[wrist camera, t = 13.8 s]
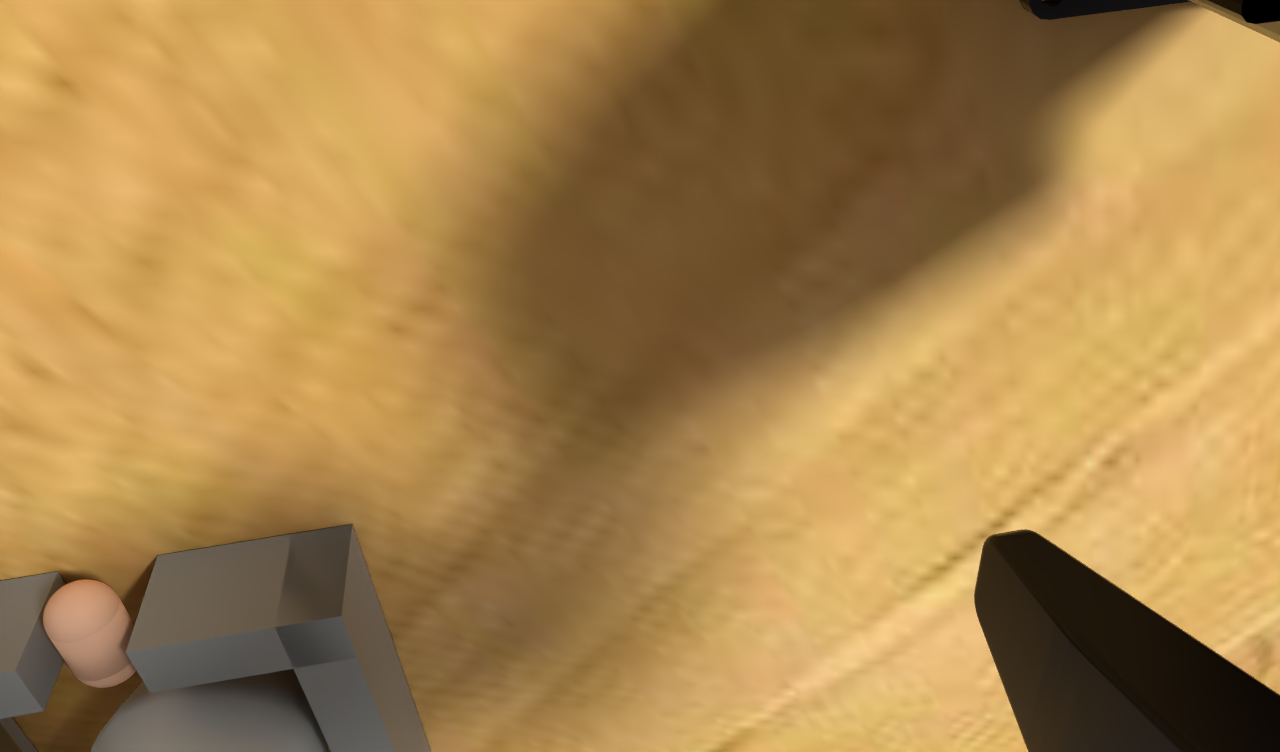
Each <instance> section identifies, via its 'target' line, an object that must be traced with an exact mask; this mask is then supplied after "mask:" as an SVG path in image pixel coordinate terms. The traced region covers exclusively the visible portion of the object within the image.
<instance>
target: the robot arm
mask: <svg viewBox="0 0 1280 752" xmlns="http://www.w3.org/2000/svg"><path fill="white" fill-rule="evenodd" d="M1020 2H1021V4H1022V6H1023V7H1024V9H1026V10H1027V11H1029V12H1030V13H1032V14H1033V15H1035V16H1037V17H1038V18H1040V19H1048V20H1051V19H1059V18H1066V17H1074V16H1082V15H1090V14H1097V13H1105V12H1113V11H1121V10H1128V9H1136V8H1144V7H1152V6H1160V5H1167V4H1175V3H1183V2H1193V3H1195V4H1198V5H1200V6H1202V7H1204V8H1206V9H1208V10H1211V11H1213V12H1215V13H1217V14H1219V15H1221V16H1224V17H1226V18H1228V19H1230V20H1232V21H1235V22H1237V23H1239V24H1241V25H1243V26H1245V27H1248V28H1250V29H1252V30H1254V31H1256V32H1258V33H1261V34H1263V35H1265V36H1267V37H1269V38H1271V39H1274V40H1276V41H1278V42H1280V0H1044V1H1042V0H1020ZM974 599H975V608H976V612H977V616H978V619H979V622H980V625H981V627H982V630H983V633H984V635H985V638H986V641H987V643H988V646H989V649H990V651H991V654H992V657H993V659H994V662H995V665H996V667H997V670H998V673H999V675H1000V678H1001V681H1002V683H1003V686H1004V688H1005V691H1006V694H1007V696H1008V699H1009V702H1010V704H1011V707H1012V710H1013V712H1014V715H1015V718H1016V720H1017V723H1018V726H1019V728H1020V731H1021V734H1022V736H1023V739H1024V742H1025V744H1026V747H1027V749H1028V751H1029V752H1280V695H1279V694H1278V693H1276V692H1275V691H1273V690H1272V689H1270V688H1269V687H1267V686H1266V685H1264V684H1263V683H1261V682H1260V681H1258V680H1257V679H1255V678H1254V677H1252V676H1251V675H1249V674H1248V673H1246V672H1245V671H1243V670H1242V669H1240V668H1239V667H1237V666H1236V665H1234V664H1233V663H1231V662H1230V661H1228V660H1227V659H1225V658H1224V657H1222V656H1221V655H1219V654H1218V653H1216V652H1215V651H1213V650H1212V649H1210V648H1209V647H1207V646H1206V645H1204V644H1203V643H1201V642H1200V641H1198V640H1197V639H1195V638H1194V637H1192V636H1191V635H1189V634H1188V633H1186V632H1185V631H1183V630H1182V629H1180V628H1179V627H1177V626H1176V625H1174V624H1173V623H1171V622H1170V621H1168V620H1167V619H1165V618H1164V617H1162V616H1161V615H1159V614H1158V613H1156V612H1155V611H1153V610H1152V609H1150V608H1149V607H1147V606H1146V605H1144V604H1143V603H1141V602H1140V601H1138V600H1137V599H1135V598H1134V597H1132V596H1131V595H1129V594H1128V593H1126V592H1125V591H1123V590H1122V589H1121V588H1119V587H1118V586H1116V585H1115V584H1113V583H1112V582H1110V581H1109V580H1107V579H1106V578H1104V577H1103V576H1101V575H1100V574H1098V573H1097V572H1095V571H1094V570H1092V569H1091V568H1089V567H1088V566H1086V565H1085V564H1083V563H1082V562H1080V561H1079V560H1077V559H1076V558H1074V557H1073V556H1071V555H1070V554H1068V553H1067V552H1065V551H1064V550H1062V549H1061V548H1059V547H1058V546H1056V545H1055V544H1053V543H1052V542H1050V541H1049V540H1047V539H1046V538H1044V537H1043V536H1041V535H1040V534H1038V533H1036V532H1033V531H1031V530H1017V531H1011V532H1005V533H999V534H994V535H991V536H989V537H988V538H987V539H986V541H985V542H984V545H983V549H982V554H981V560H980V565H979V571H978V576H977V582H976V587H975V594H974ZM0 752H23V751H22V749H21V748H20V747H19V746H18V744H17V743H16V742H15V740H14V739H13V738H12V737H11V735H10V734H9V733H8V731H7V730H6V729H5V727H4V726H3V725H2V724H1V722H0Z"/></svg>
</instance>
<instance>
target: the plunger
mask: <svg viewBox="0 0 1280 752" xmlns="http://www.w3.org/2000/svg"><path fill="white" fill-rule="evenodd" d="M43 624H44V628H45V631H46V633H47V635H48V637H49V638H50V640H51V641H52V643H53V644H54V646H55V647H56V649H57V650H58V652H59V653H60V655H61V656H62V658H63V659H64V661H65V662H66V664H67V665H68V667H69V668H70V670H71V671H72V673H73V674H74V675H75V676H76V677H77V679H78V680H80V681H81V682H83V683H84V684H86V685H89V686H92V687H96V688H105V687H112V686H115V685H118V684H120V683H122V682H124V681H126V680H127V679H129V678H130V677H131V676H132V675H133V674H134V673H135V672H136V669H135V667H134V665H133V664H132V662H131V660H130V659H129V657H128V655H127V654H126V650H127V646H128V643H129V640H130V637H131V634H132V631H133V628H134V625H135V624H134V623H133V621H132V619H131V617H130V616H129V614H128V612H127V610H126V609H125V607H124V605H123V604H122V602H121V600H120V598H119V597H118V595H117V594H116V592H115V591H114V590H113V589H112V588H111V587H109V586H108V585H106V584H105V583H102V582H100V581H96V580H86V579H85V580H78V581H74V582H71V583H68V584H66V585H64V586H63V587H61V588H60V589H59V590H57V591H56V592H55V593H54V594H53V595H52V596H51V598H50V599H49V601H48V602H47V604H46V606H45V609H44V614H43Z"/></svg>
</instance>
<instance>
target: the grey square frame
mask: <svg viewBox="0 0 1280 752" xmlns="http://www.w3.org/2000/svg"><path fill="white" fill-rule="evenodd" d="M64 585H66V584H65V582H64V580H63V579H62V577H61V576H60V574H59V572H52V573H46V574H40V575H34V576H27V577H21V578H15V579H9V580H3V581H0V722H1V724H2V725H3V726H4V727H5V729H6V730H7V731H8V733H9V734H10V735H11V737H12V738H13V739H14V740H15V742H16V743H17V744H18V746H19V747H20V748H21V749H22V751H23V752H38V751H37V750H36V749H35V747H34V746H33V745H32V743H31V742H30V741H29V739H28V738H27V737H26V735H25V734H24V733H23V731H22V730H21V729H20V728H19V726H18V725H17V724H16V722H15V721H14V720H13V718H12V717H14V716H20V715H26V714H32V713H38V712H44V710H45V708H46V705H47V703H48V700H49V697H50V695H51V692H52V690H53V687H54V685H55V682H56V680H57V677H58V674H59V672H60V669H61V667H62V664H63V662H64V659H63V658H62V656H61V655H60V653H59V652H58V650H57V649H56V647H55V646H54V644H53V643H52V641H51V640H50V638H49V637H48V635H47V633H46V631H45V628H44V624H43V614H44V609H45V606H46V604H47V602H48V601H49V599H50V598H51V596H52V595H53V594H54V593H55V592H56V591H57V590H59V589H60V588H61V587H63V586H64ZM126 654H127V655H128V657H129V659H130V660H131V662H132V664H133V665H134V667H135V669H136V670H137V672H138V674H139V675H140V677H141V679H142V680H143V682H144V684H145V685H146V687H147V689H148V690H149V692H150V693H154V692H160V691H166V690H172V689H178V688H184V687H190V686H195V685H201V684H207V683H213V682H219V681H225V680H230V679H236V678H242V677H248V676H254V675H260V674H265V673H271V672H277V671H283V670H289V669H294V671H295V673H296V675H297V678H298V680H299V682H300V684H301V686H302V689H303V691H304V693H305V695H306V698H307V700H308V702H309V704H310V706H311V709H312V711H313V713H314V715H315V717H316V720H317V722H318V724H319V726H320V729H321V731H322V733H323V735H324V737H325V740H326V742H327V744H328V746H329V748H330V751H331V752H431V749H430V747H429V744H428V741H427V738H426V735H425V732H424V729H423V726H422V724H421V721H420V718H419V715H418V712H417V709H416V706H415V703H414V701H413V698H412V695H411V692H410V689H409V686H408V683H407V680H406V678H405V675H404V672H403V669H402V666H401V663H400V660H399V657H398V655H397V652H396V649H395V646H394V643H393V640H392V637H391V634H390V632H389V629H388V626H387V623H386V620H385V617H384V614H383V611H382V609H381V606H380V603H379V600H378V597H377V594H376V591H375V588H374V586H373V583H372V580H371V577H370V574H369V571H368V568H367V565H366V563H365V560H364V557H363V554H362V551H361V548H360V545H359V542H358V539H357V537H356V534H355V531H354V528H353V525H352V524H351V525H344V526H338V527H332V528H326V529H320V530H313V531H307V532H301V533H295V534H288V535H282V536H276V537H270V538H264V539H257V540H251V541H245V542H239V543H233V544H226V545H220V546H214V547H208V548H201V549H195V550H189V551H183V552H177V553H170V554H164V555H158V556H157V559H156V562H155V565H154V568H153V571H152V574H151V577H150V580H149V583H148V586H147V589H146V592H145V595H144V598H143V601H142V604H141V607H140V610H139V613H138V616H137V619H136V622H135V625H134V628H133V631H132V634H131V637H130V640H129V643H128V646H127V650H126Z"/></svg>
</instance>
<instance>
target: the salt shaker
mask: <svg viewBox="0 0 1280 752" xmlns="http://www.w3.org/2000/svg"><path fill="white" fill-rule="evenodd" d="M91 752H328V744H327V742H326V740H325V737H324V735H323V733H322V731H321V729H320V726H319V724H318V722H317V720H316V717H315V715H314V713H313V711H312V709H311V706H310V704H309V702H308V700H307V698H306V695H305V693H304V691H303V689H302V686H301V684H300V682H299V680H298V678H297V675H296V673H295V671H294V669H289V670H283V671H277V672H271V673H265V674H260V675H254V676H248V677H242V678H236V679H230V680H225V681H219V682H213V683H207V684H201V685H195V686H190V687H184V688H178V689H172V690H166V691H160V692H154V693H150V692H149V690H148V689H147V687H146V685H145V684H144V682H143V681H142V682H141V684H140V685H139V686H138V687H137V688H136V689H135V690H134V691H133V692H132V694H131V695H130V696H129V697H128V698H127V699H126V700H125V701H124V702H123V704H122V705H121V706H120V707H119V708H118V710H117V711H116V712H115V713H114V715H113V716H112V717H111V718H110V719H109V721H108V722H107V723H106V724H105V725H104V727H103V728H102V729H101V731H100V733H99V735H98V736H97V738H96V740H95V742H94V744H93V746H92V748H91Z"/></svg>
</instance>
